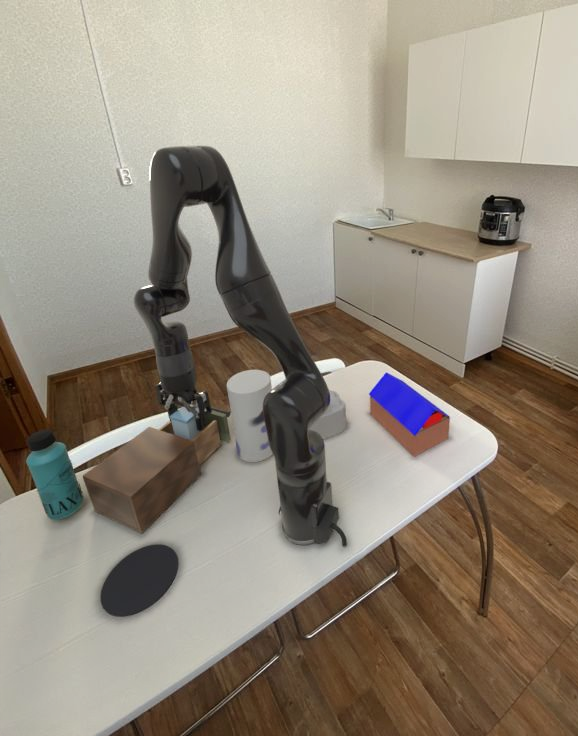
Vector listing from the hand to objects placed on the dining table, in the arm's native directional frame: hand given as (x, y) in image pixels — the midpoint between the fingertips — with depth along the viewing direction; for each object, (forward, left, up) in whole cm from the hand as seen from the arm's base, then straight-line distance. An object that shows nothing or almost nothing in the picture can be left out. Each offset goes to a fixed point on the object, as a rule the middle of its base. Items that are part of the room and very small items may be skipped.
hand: (188, 424), depth 93 cm
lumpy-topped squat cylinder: (-25, -20, -9) cm, 33 cm away
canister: (0, 0, -6) cm, 6 cm away
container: (-14, -7, -9) cm, 18 cm away
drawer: (0, -1, -8) cm, 8 cm away
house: (-47, -29, -9) cm, 56 cm away
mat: (-14, +27, -9) cm, 32 cm away
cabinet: (0, +13, -9) cm, 16 cm away
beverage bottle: (+12, +23, -9) cm, 27 cm away
